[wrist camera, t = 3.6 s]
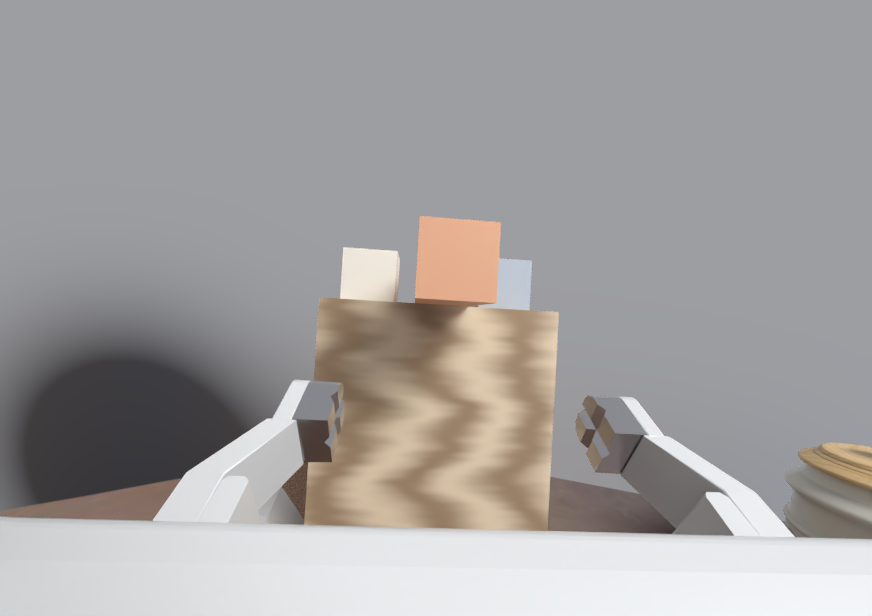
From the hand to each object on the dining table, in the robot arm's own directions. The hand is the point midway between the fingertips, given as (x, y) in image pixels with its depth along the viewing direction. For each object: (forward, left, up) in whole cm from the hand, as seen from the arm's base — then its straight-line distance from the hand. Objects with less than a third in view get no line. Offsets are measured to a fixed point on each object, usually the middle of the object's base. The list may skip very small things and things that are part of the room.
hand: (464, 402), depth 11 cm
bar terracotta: (0, +15, +4) cm, 16 cm away
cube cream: (-6, +22, +4) cm, 23 cm away
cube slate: (+7, +22, +4) cm, 24 cm away
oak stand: (0, +20, -22) cm, 30 cm away
